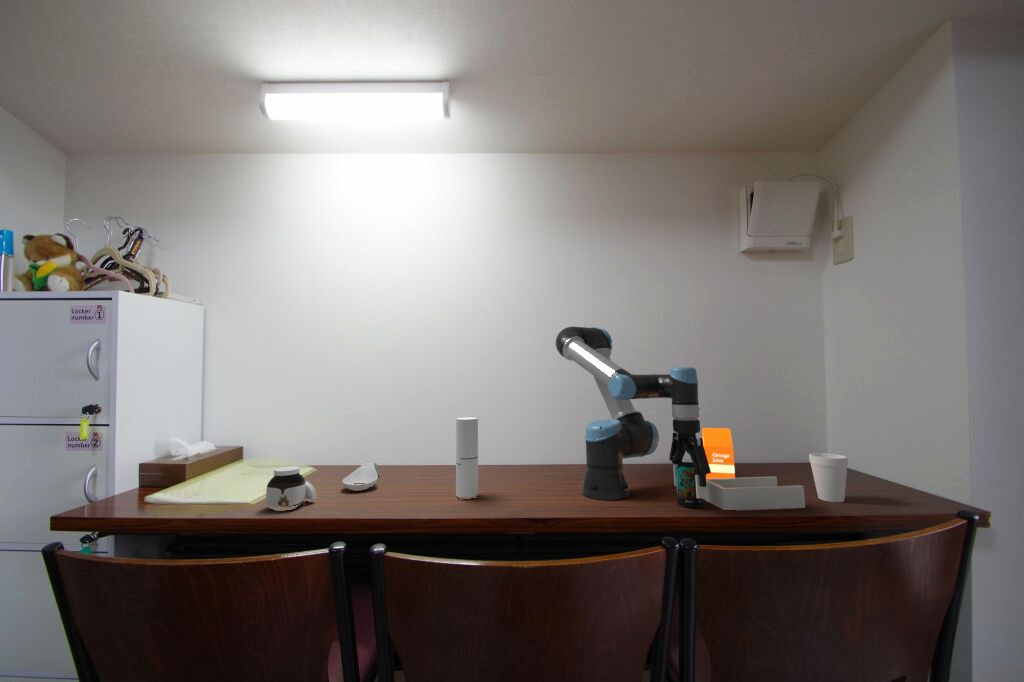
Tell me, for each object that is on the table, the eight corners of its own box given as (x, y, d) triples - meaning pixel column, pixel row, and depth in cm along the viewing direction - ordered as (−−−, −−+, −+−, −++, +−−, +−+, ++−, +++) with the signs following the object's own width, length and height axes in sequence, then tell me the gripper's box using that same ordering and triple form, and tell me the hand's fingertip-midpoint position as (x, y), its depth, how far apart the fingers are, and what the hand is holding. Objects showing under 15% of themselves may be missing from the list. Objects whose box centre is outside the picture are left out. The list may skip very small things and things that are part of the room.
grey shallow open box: (724, 510, 118) (723, 489, 118) (702, 498, 130) (701, 478, 130) (805, 507, 120) (803, 486, 120) (775, 496, 131) (774, 476, 132)
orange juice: (704, 484, 147) (701, 426, 148) (732, 486, 144) (728, 427, 146) (706, 490, 139) (703, 429, 141) (736, 492, 136) (732, 430, 138)
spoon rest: (372, 494, 141) (372, 472, 141) (336, 495, 140) (337, 473, 141) (388, 477, 164) (388, 458, 165) (357, 478, 163) (358, 459, 164)
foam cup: (841, 496, 131) (838, 453, 132) (857, 504, 122) (853, 459, 123) (806, 494, 133) (803, 452, 134) (819, 502, 124) (816, 457, 126)
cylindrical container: (472, 500, 131) (472, 419, 133) (452, 498, 133) (452, 419, 135) (481, 494, 138) (481, 417, 140) (462, 492, 140) (461, 417, 142)
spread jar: (261, 512, 122) (262, 471, 123) (282, 501, 133) (284, 463, 134) (302, 512, 122) (303, 471, 123) (320, 500, 133) (321, 463, 134)
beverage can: (693, 510, 118) (691, 467, 119) (672, 504, 124) (670, 463, 125) (708, 506, 122) (706, 464, 123) (686, 500, 128) (684, 460, 129)
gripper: (721, 422, 113) (726, 503, 111) (678, 415, 138) (682, 481, 136) (694, 423, 113) (699, 504, 111) (656, 415, 138) (659, 481, 136)
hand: (689, 491), depth 123 cm, fingers open, 13 cm apart
